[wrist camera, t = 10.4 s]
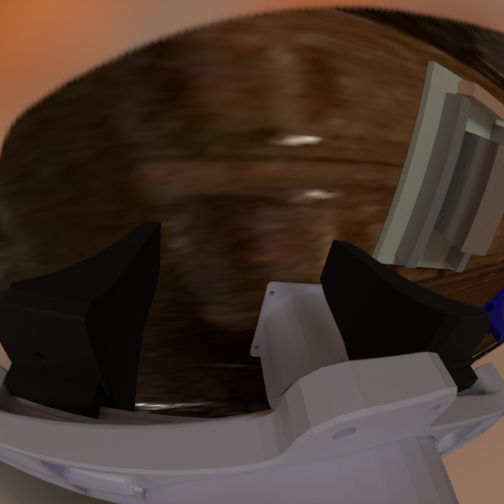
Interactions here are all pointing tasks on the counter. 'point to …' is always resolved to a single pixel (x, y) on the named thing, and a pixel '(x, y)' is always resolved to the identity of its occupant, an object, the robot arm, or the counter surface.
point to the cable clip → (496, 315)
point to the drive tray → (435, 170)
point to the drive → (474, 196)
